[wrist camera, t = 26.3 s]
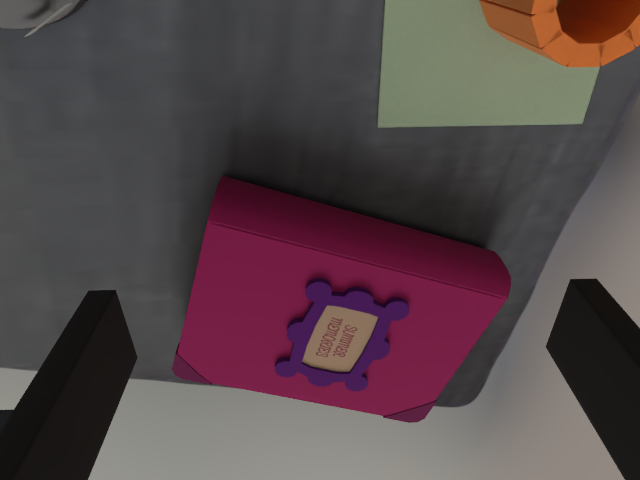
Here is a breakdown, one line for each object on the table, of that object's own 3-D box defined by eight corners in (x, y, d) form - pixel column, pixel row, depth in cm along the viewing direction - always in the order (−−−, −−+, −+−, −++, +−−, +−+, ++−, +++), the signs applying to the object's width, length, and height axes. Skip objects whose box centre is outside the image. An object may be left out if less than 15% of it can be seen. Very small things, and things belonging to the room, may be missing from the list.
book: (223, 166, 42) (208, 206, 35) (492, 243, 47) (521, 290, 41) (185, 328, 52) (168, 381, 46) (408, 375, 58) (421, 429, 51)
